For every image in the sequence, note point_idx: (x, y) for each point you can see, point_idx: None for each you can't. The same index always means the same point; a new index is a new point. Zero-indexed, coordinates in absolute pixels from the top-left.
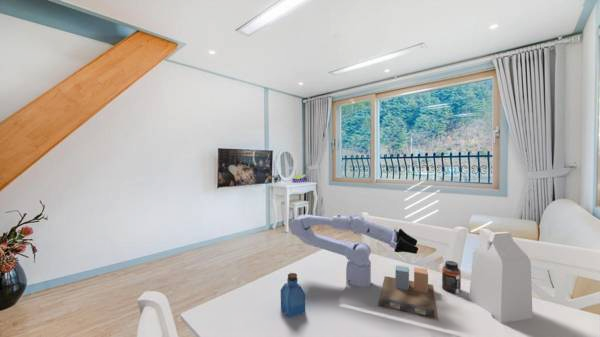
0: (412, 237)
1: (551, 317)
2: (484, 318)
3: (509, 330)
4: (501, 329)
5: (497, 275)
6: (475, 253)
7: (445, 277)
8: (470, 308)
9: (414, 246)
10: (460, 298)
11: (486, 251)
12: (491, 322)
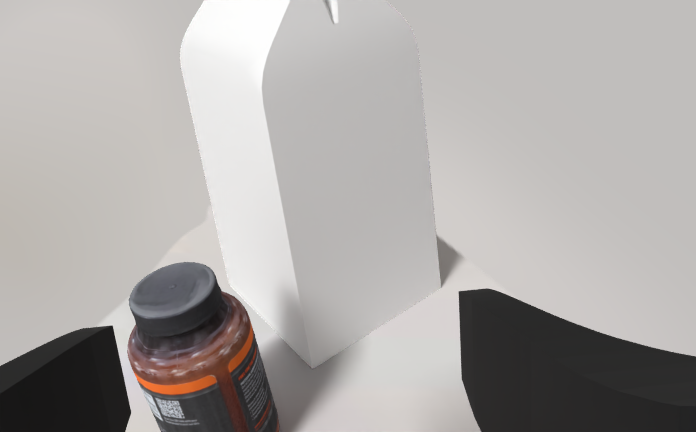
0: (20, 357)
1: None
2: (441, 325)
3: (476, 272)
4: (488, 288)
5: (406, 114)
6: (276, 90)
7: (234, 395)
8: (381, 364)
9: (518, 301)
10: (293, 400)
11: (330, 28)
12: (458, 308)
